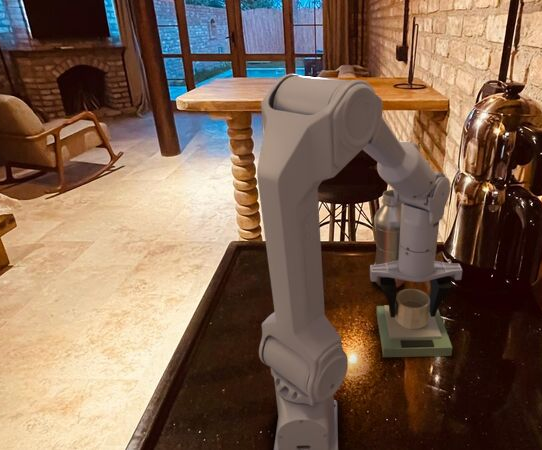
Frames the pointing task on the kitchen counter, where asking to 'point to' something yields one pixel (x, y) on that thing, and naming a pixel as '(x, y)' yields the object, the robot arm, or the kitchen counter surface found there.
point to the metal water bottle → (388, 231)
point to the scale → (412, 337)
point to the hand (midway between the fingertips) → (411, 313)
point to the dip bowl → (412, 308)
